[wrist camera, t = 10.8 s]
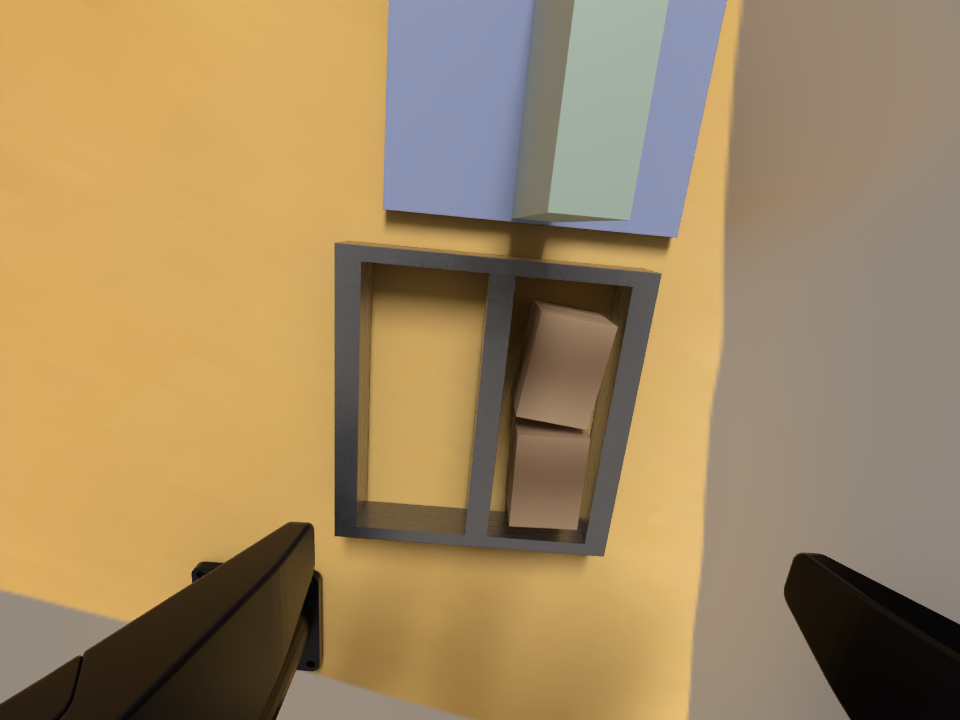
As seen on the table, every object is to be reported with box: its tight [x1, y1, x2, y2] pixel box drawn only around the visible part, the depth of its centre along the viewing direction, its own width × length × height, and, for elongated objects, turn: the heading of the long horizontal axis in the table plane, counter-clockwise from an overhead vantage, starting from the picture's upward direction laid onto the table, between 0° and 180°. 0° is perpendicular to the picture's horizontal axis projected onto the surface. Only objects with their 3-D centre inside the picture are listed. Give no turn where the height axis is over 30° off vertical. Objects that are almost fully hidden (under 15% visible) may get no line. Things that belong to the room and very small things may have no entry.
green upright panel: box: [512, 0, 669, 222], centre depth 12 cm, size 9×2×10 cm, turn 175°
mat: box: [383, 0, 727, 238], centre depth 17 cm, size 9×12×1 cm
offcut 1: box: [511, 300, 618, 430], centre depth 19 cm, size 4×3×3 cm
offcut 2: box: [506, 408, 590, 530], centre depth 21 cm, size 4×3×3 cm
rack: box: [335, 241, 661, 556], centre depth 20 cm, size 13×13×2 cm
